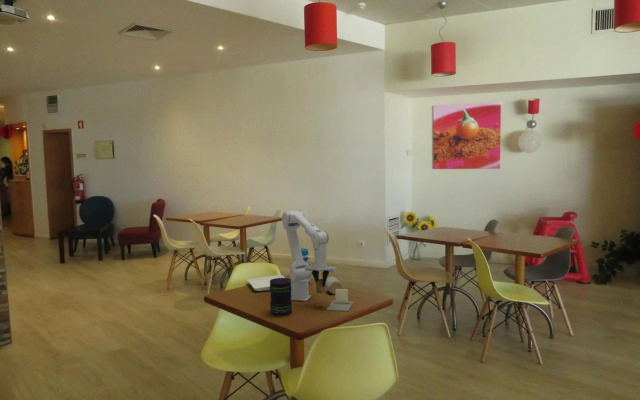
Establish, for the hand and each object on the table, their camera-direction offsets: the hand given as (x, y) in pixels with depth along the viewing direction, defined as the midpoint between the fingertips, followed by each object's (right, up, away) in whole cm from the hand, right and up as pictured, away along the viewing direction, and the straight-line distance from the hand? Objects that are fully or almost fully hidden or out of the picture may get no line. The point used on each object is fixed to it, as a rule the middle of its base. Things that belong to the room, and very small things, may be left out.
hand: (320, 286), depth 220 cm
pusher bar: (0, -2, 0) cm, 2 cm away
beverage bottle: (-10, -7, +40) cm, 42 cm away
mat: (+9, -10, +2) cm, 13 cm away
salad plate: (-29, -8, +40) cm, 49 cm away
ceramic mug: (+8, -8, +25) cm, 27 cm away
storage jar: (-18, -11, -6) cm, 22 cm away
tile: (+10, -9, +6) cm, 15 cm away
